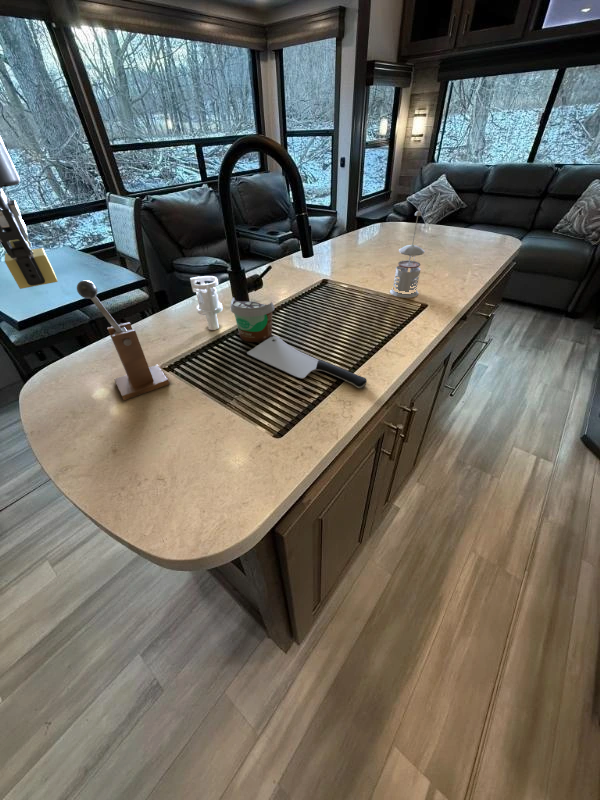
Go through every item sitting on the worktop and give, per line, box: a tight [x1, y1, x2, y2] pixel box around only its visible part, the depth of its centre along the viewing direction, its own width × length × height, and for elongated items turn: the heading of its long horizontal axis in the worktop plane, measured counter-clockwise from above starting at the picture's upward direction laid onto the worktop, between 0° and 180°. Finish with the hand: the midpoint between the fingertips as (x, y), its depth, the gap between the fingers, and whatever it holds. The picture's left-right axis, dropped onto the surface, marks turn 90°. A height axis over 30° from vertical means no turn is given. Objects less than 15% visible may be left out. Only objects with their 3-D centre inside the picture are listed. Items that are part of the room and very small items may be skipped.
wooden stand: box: [106, 321, 170, 401], centre depth 72 cm, size 10×8×14 cm
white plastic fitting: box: [189, 275, 224, 331], centre depth 93 cm, size 7×7×15 cm
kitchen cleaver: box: [246, 335, 368, 389], centre depth 80 cm, size 31×2×10 cm
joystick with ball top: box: [76, 279, 127, 334], centre depth 65 cm, size 14×3×3 cm
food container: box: [230, 297, 275, 343], centre depth 89 cm, size 12×6×10 cm, turn 71°
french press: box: [389, 210, 426, 299], centre depth 108 cm, size 10×12×25 cm
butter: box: [4, 247, 59, 290], centre depth 51 cm, size 5×5×4 cm
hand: (36, 278), depth 52 cm, fingers closed on butter, 5 cm apart
